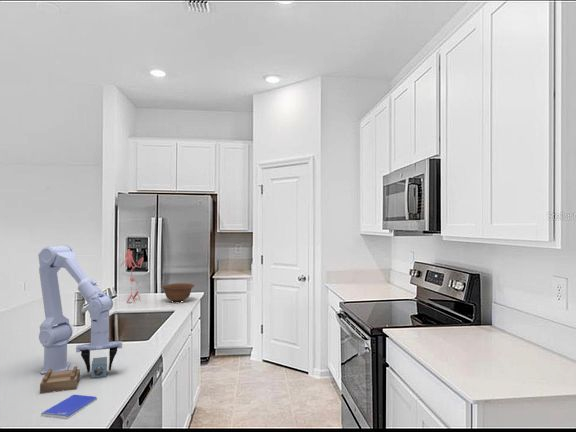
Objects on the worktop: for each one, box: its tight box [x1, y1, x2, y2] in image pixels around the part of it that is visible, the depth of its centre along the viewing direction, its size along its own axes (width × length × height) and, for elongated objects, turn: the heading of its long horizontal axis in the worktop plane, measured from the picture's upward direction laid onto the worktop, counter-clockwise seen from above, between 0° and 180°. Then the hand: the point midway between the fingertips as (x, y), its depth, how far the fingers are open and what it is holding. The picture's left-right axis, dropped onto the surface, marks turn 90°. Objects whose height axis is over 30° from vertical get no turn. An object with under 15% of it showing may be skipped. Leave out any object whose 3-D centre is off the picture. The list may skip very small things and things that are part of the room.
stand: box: [39, 365, 81, 394], centre depth 134 cm, size 10×10×4 cm
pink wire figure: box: [120, 248, 145, 303], centre depth 276 cm, size 15×26×35 cm, turn 178°
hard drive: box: [40, 394, 98, 420], centre depth 118 cm, size 2×8×12 cm
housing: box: [90, 356, 108, 380], centre depth 144 cm, size 7×4×5 cm, turn 21°
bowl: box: [160, 282, 195, 302], centre depth 276 cm, size 22×22×11 cm
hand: (99, 370), depth 144 cm, fingers open, 6 cm apart
